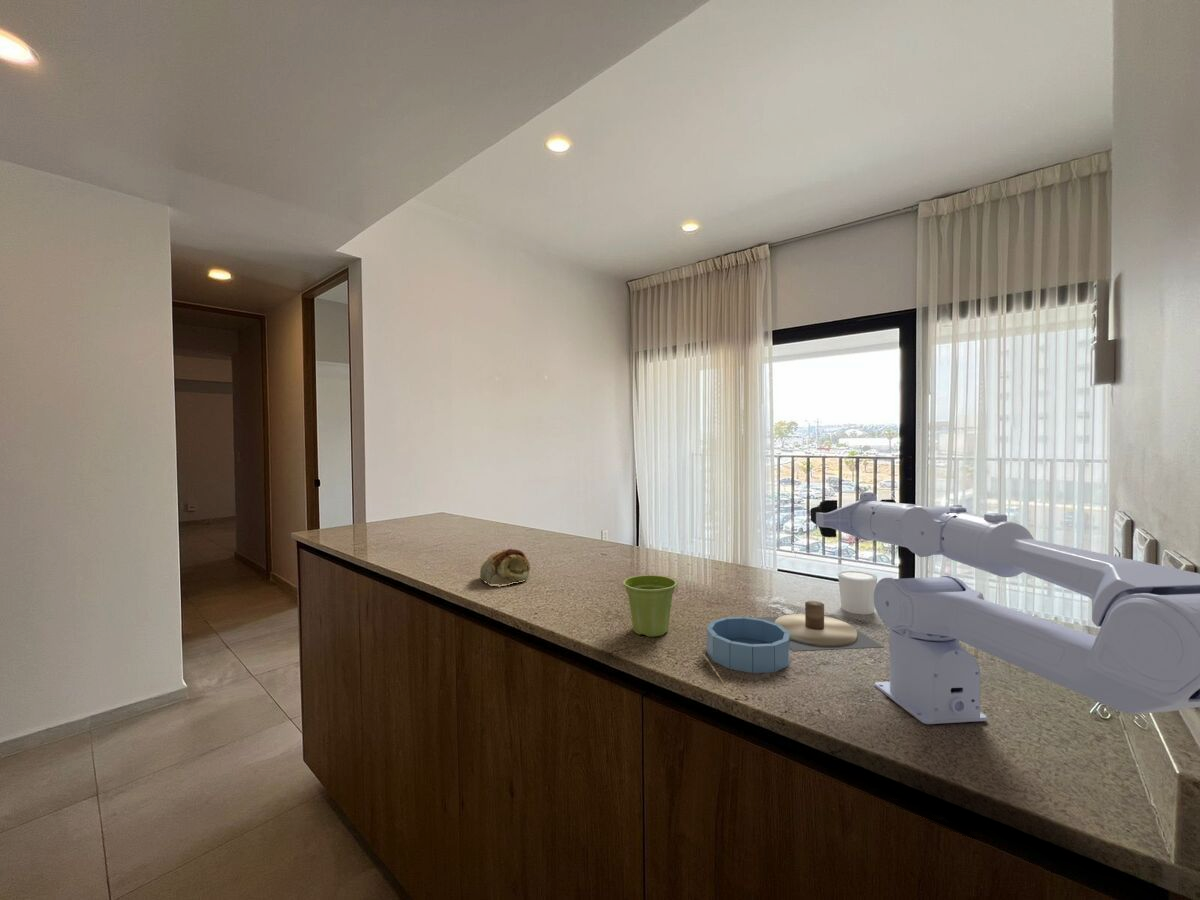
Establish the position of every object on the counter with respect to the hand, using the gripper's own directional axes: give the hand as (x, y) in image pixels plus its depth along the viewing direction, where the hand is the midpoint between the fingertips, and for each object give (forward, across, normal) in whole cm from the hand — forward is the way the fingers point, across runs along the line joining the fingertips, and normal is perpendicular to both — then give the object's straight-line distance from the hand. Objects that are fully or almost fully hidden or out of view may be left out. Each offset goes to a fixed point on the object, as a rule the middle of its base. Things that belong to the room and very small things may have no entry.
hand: (834, 514), depth 83 cm
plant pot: (+8, +30, +21) cm, 37 cm away
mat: (+4, +2, +21) cm, 21 cm away
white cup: (+14, -12, +20) cm, 28 cm away
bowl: (-4, +17, +21) cm, 27 cm away
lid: (+4, +2, +20) cm, 21 cm away
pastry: (+46, +58, +19) cm, 77 cm away
